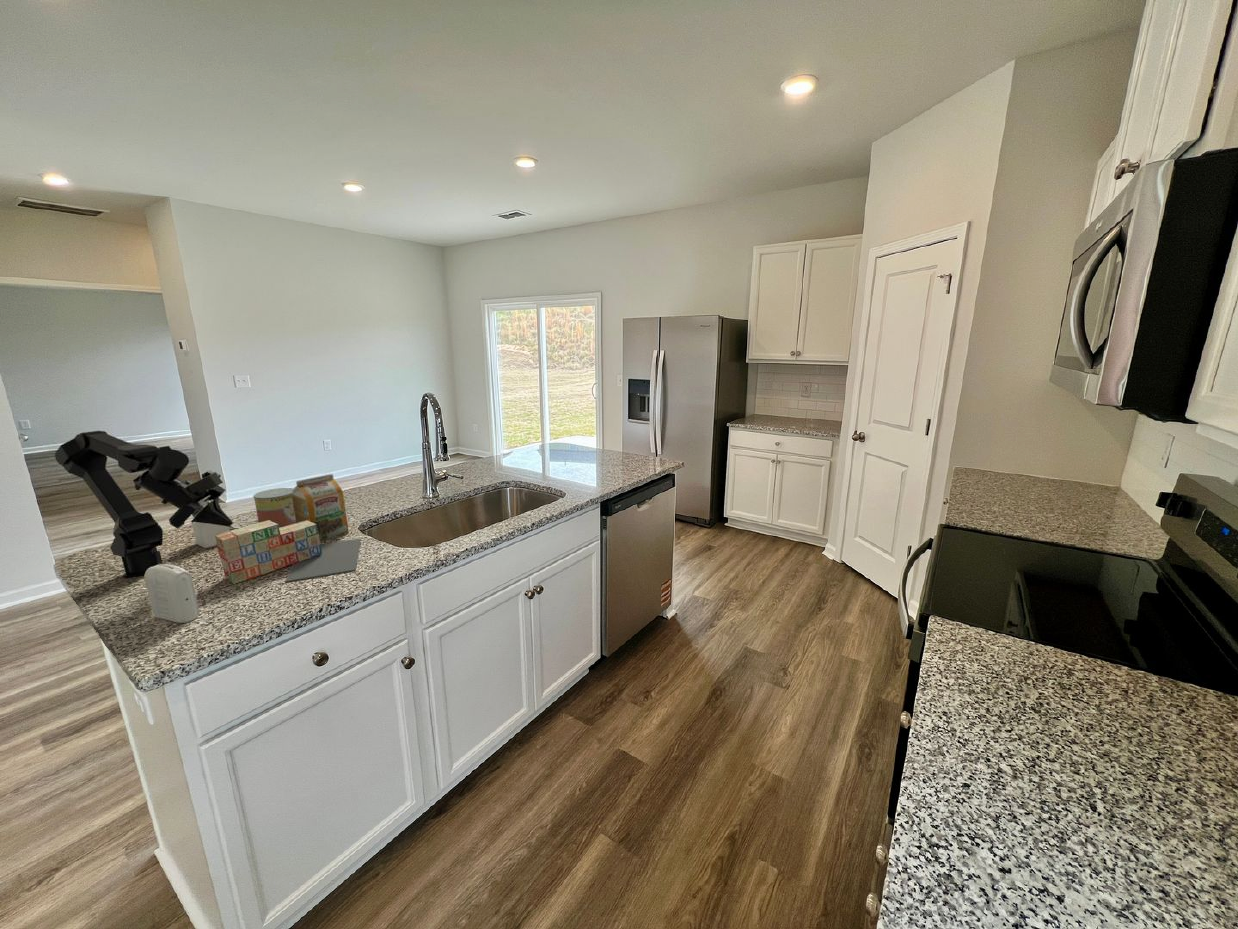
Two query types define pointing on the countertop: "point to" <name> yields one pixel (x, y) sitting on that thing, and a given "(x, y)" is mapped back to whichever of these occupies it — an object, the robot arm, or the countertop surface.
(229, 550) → the stack of blocks
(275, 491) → the canned food
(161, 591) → the photo printer
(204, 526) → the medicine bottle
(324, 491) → the milk carton
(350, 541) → the mat
